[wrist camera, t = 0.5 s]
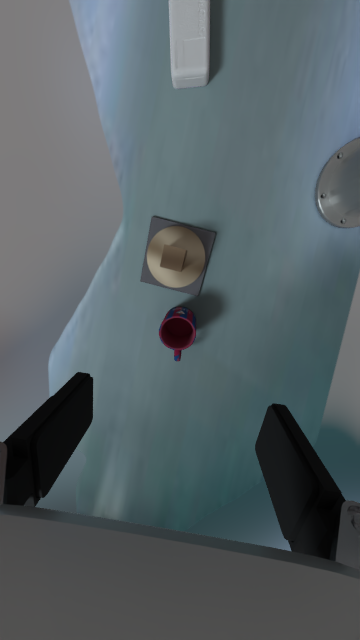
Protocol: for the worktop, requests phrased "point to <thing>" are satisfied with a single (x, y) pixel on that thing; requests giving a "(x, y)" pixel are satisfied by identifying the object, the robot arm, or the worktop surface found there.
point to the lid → (176, 256)
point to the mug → (178, 330)
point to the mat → (207, 243)
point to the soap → (189, 42)
